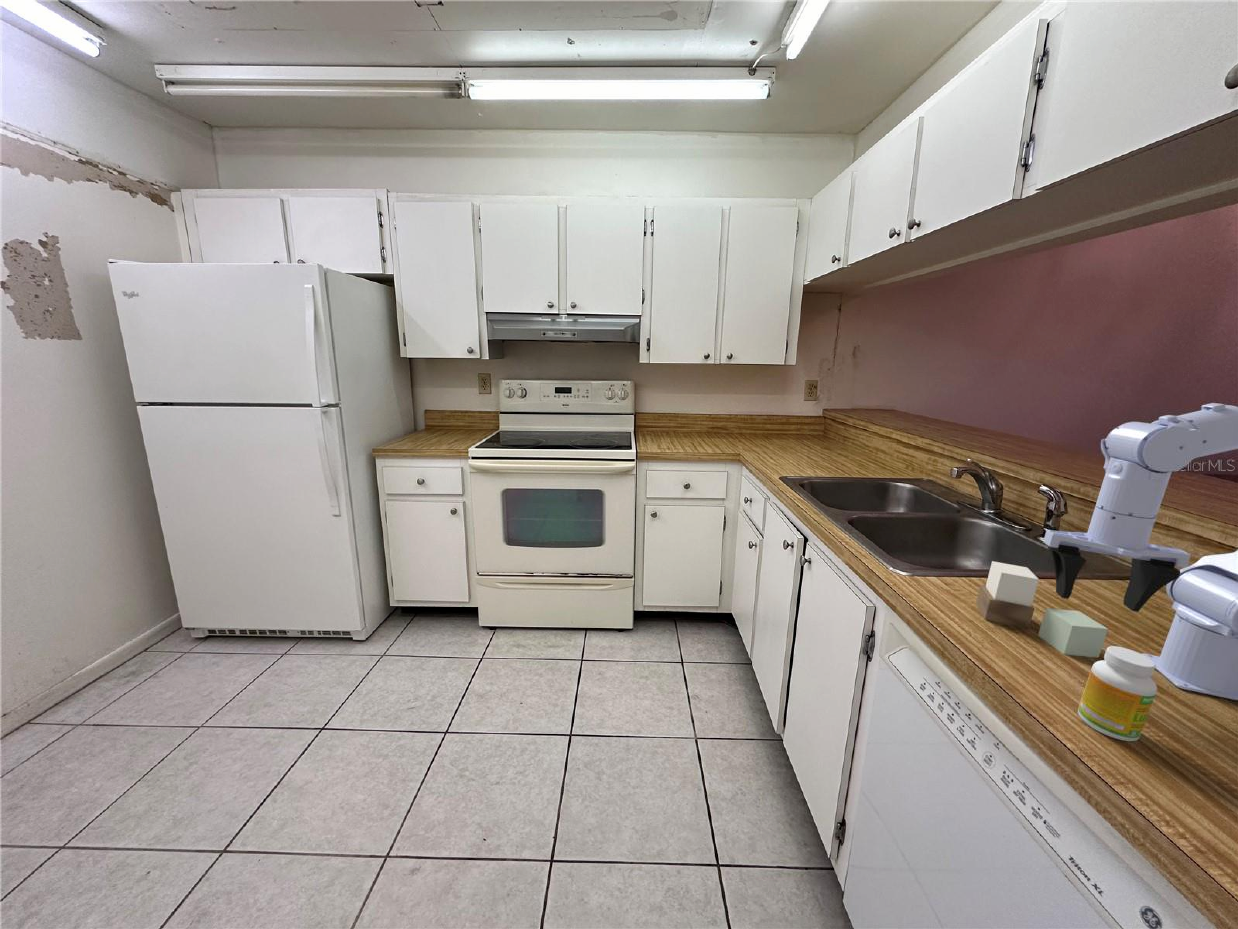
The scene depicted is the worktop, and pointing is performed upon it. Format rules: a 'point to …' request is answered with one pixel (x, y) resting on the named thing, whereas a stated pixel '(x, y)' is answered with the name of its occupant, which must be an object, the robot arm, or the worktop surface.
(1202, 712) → the worktop surface
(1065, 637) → the sage cube
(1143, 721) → the supplement bottle
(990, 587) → the cream cube
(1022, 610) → the walnut block
